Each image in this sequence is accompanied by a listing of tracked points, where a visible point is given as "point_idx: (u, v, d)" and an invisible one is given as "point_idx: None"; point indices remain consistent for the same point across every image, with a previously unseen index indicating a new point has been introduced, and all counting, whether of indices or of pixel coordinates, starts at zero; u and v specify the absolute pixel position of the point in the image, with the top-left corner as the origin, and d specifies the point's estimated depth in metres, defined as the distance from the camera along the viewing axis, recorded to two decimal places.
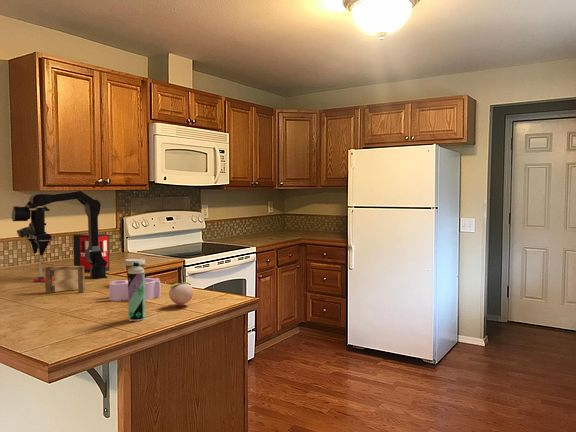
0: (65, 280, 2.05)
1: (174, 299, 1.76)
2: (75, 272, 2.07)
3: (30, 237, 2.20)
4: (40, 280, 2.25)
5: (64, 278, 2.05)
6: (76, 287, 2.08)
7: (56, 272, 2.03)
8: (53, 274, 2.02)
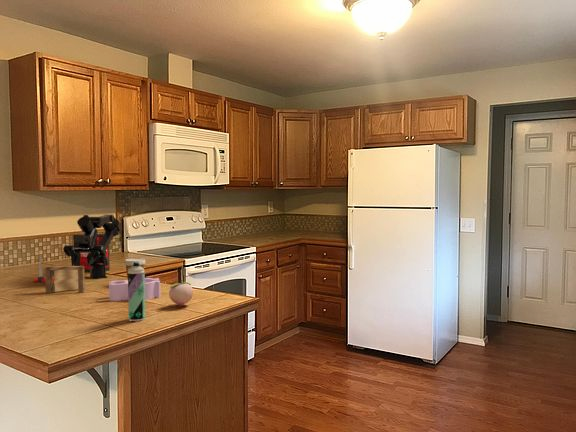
0: (65, 280, 2.05)
1: (174, 299, 1.76)
2: (75, 272, 2.07)
3: (73, 250, 2.20)
4: (40, 280, 2.25)
5: (64, 278, 2.05)
6: (76, 287, 2.08)
7: (56, 272, 2.03)
8: (53, 274, 2.02)
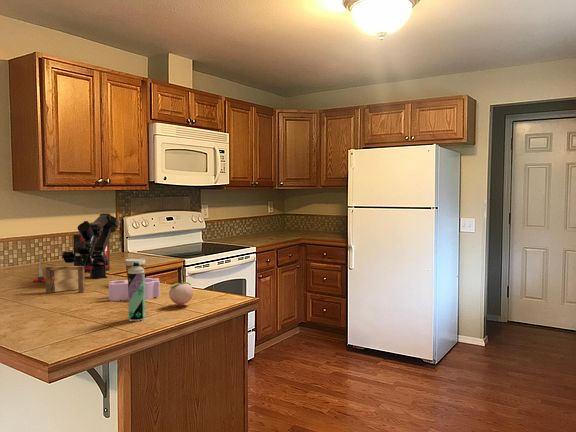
0: (65, 280, 2.05)
1: (174, 299, 1.76)
2: (75, 272, 2.07)
3: (80, 256, 2.17)
4: (40, 280, 2.25)
5: (64, 278, 2.05)
6: (76, 287, 2.08)
7: (56, 272, 2.03)
8: (53, 274, 2.02)
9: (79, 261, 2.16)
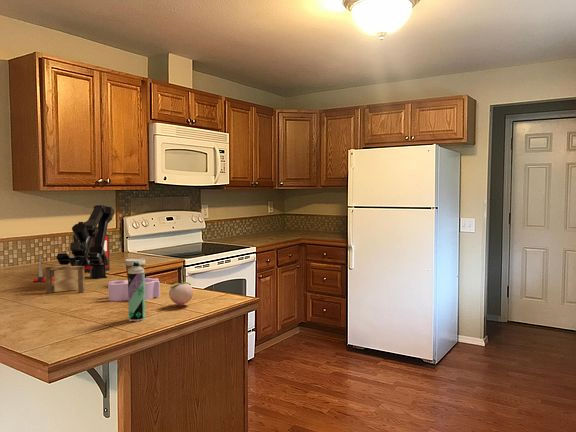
0: (65, 280, 2.04)
1: (174, 299, 1.76)
2: (75, 272, 2.06)
3: (74, 258, 2.11)
4: (40, 280, 2.25)
5: (64, 278, 2.04)
6: (76, 288, 2.07)
7: (56, 272, 2.02)
8: (53, 274, 2.02)
9: (73, 263, 2.10)
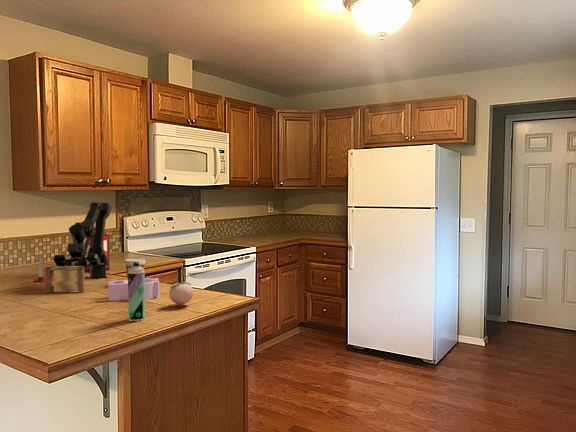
0: (64, 281, 2.02)
1: (174, 299, 1.76)
2: (74, 274, 2.03)
3: (70, 259, 2.08)
4: (40, 280, 2.25)
5: (62, 279, 2.02)
6: (74, 289, 2.03)
7: (55, 272, 2.02)
8: (52, 274, 2.02)
9: (69, 265, 2.06)
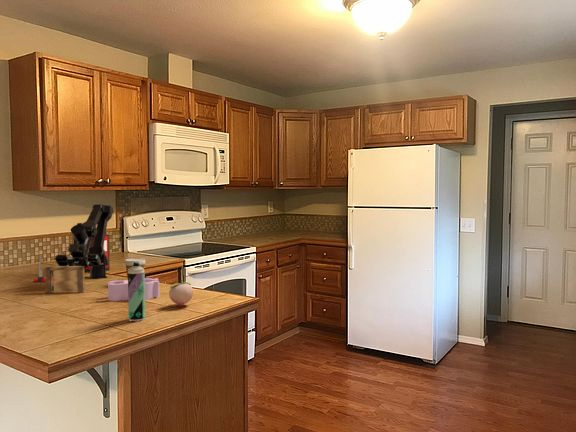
0: (64, 281, 2.02)
1: (174, 299, 1.76)
2: (73, 274, 2.02)
3: (72, 259, 2.10)
4: (40, 280, 2.25)
5: (62, 279, 2.02)
6: (74, 290, 2.03)
7: (55, 272, 2.02)
8: (52, 274, 2.02)
9: (71, 265, 2.09)
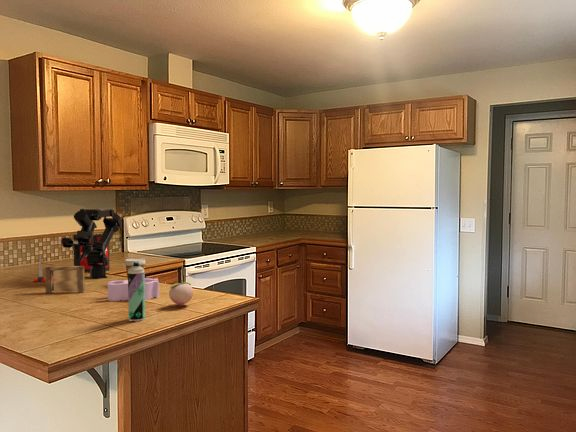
0: (64, 281, 2.02)
1: (174, 299, 1.76)
2: (73, 274, 2.02)
3: (78, 244, 2.19)
4: (40, 280, 2.25)
5: (62, 279, 2.02)
6: (74, 290, 2.03)
7: (55, 272, 2.02)
8: (52, 274, 2.02)
9: (77, 249, 2.18)
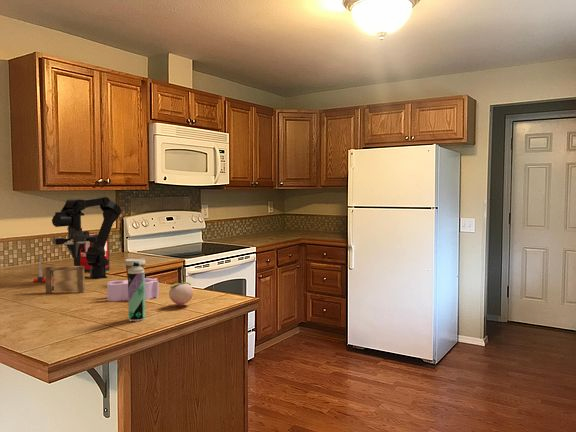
0: (64, 281, 2.02)
1: (174, 299, 1.76)
2: (73, 274, 2.02)
3: None
4: (40, 280, 2.25)
5: (62, 279, 2.02)
6: (74, 290, 2.03)
7: (55, 272, 2.02)
8: (52, 274, 2.02)
9: (72, 248, 2.21)
